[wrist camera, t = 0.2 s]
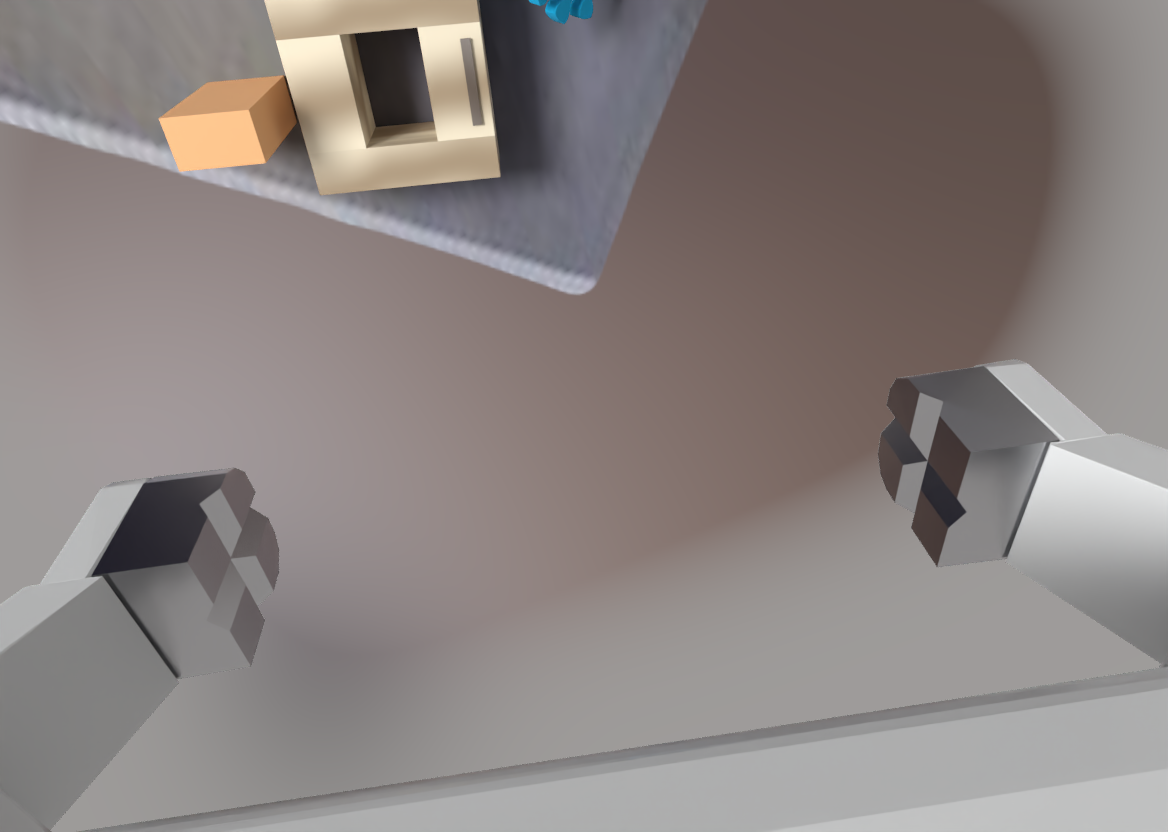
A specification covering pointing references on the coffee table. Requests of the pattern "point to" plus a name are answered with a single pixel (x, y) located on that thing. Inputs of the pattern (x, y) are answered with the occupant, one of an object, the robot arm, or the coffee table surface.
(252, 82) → the key peg
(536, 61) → the coffee table surface
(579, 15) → the gear
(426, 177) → the block
